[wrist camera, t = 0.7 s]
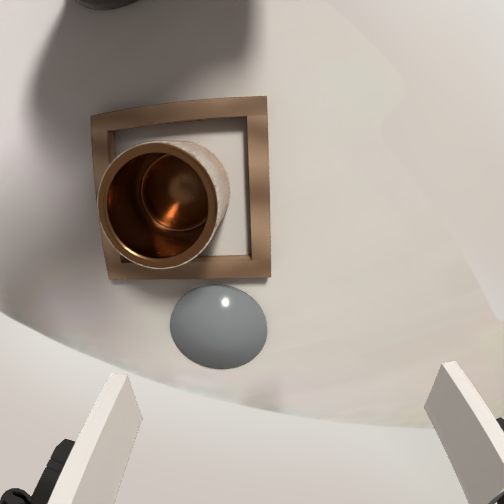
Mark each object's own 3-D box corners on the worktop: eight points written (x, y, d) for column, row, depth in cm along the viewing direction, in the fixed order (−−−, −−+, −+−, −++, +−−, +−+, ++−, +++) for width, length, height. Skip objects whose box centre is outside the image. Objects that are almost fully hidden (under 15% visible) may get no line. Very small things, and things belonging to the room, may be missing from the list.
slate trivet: (165, 284, 37) (163, 287, 37) (266, 283, 37) (266, 286, 36) (178, 364, 41) (177, 367, 40) (267, 364, 41) (267, 368, 40)
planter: (122, 161, 33) (79, 168, 24) (213, 127, 32) (196, 120, 23) (153, 250, 36) (122, 283, 27) (243, 223, 35) (238, 251, 26)
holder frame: (97, 117, 31) (90, 116, 29) (266, 98, 30) (266, 96, 29) (114, 273, 37) (109, 279, 35) (270, 271, 37) (271, 277, 35)
